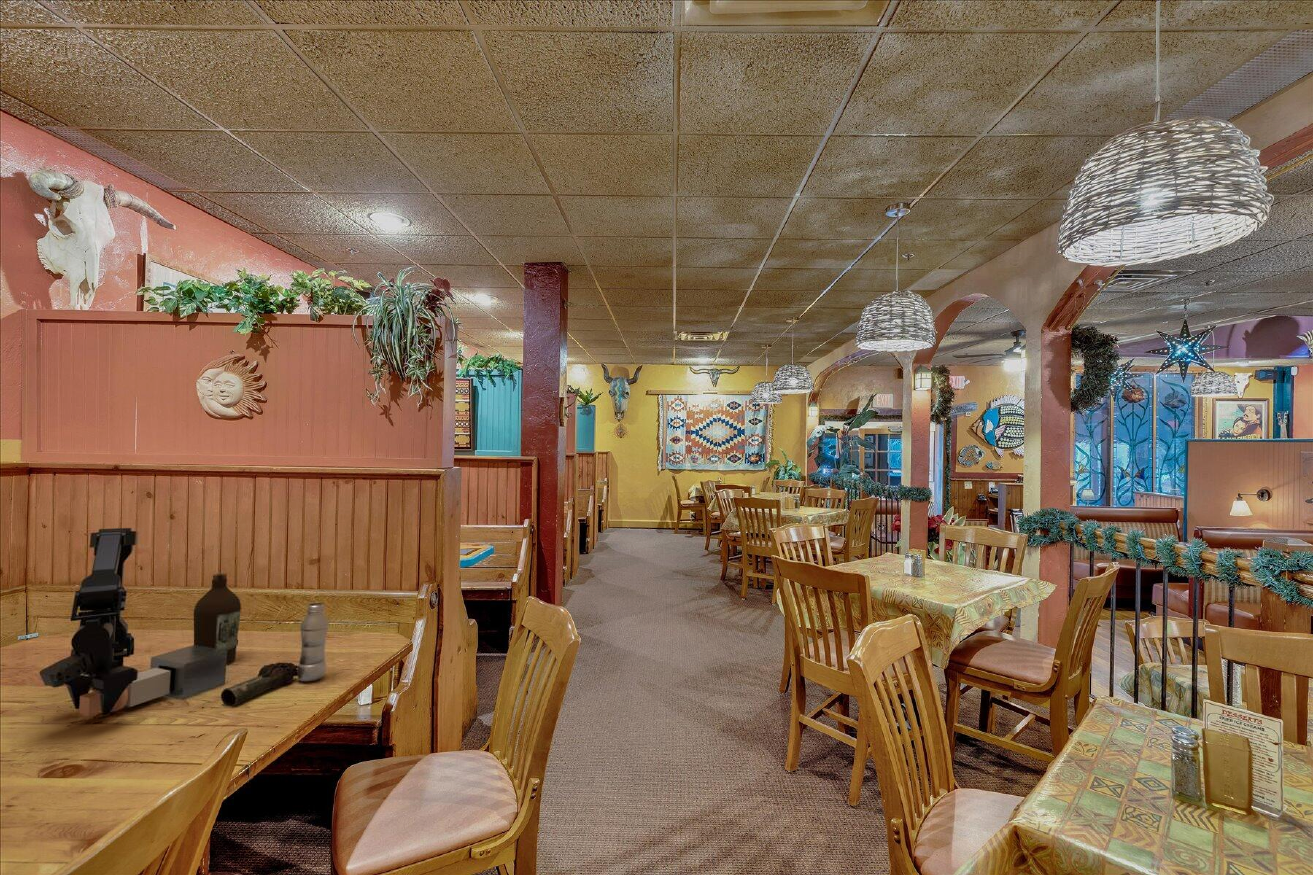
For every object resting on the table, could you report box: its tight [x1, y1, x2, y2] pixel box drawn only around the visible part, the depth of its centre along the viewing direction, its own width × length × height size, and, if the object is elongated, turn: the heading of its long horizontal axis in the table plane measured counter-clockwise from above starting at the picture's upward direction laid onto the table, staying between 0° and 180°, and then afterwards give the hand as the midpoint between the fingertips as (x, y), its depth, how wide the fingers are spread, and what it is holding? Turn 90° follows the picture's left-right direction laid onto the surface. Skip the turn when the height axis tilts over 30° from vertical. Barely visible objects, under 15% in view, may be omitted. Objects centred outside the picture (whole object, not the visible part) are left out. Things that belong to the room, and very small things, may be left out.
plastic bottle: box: [297, 602, 329, 682], centre depth 150 cm, size 6×7×20 cm
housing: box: [149, 644, 227, 700], centre depth 143 cm, size 12×10×8 cm
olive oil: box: [193, 572, 242, 666], centre depth 160 cm, size 11×11×25 cm
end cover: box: [78, 668, 171, 717], centre depth 130 cm, size 6×15×6 cm, turn 162°
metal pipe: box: [220, 661, 298, 708], centre depth 142 cm, size 18×7×6 cm, turn 163°
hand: (92, 711), depth 124 cm, fingers open, 9 cm apart
